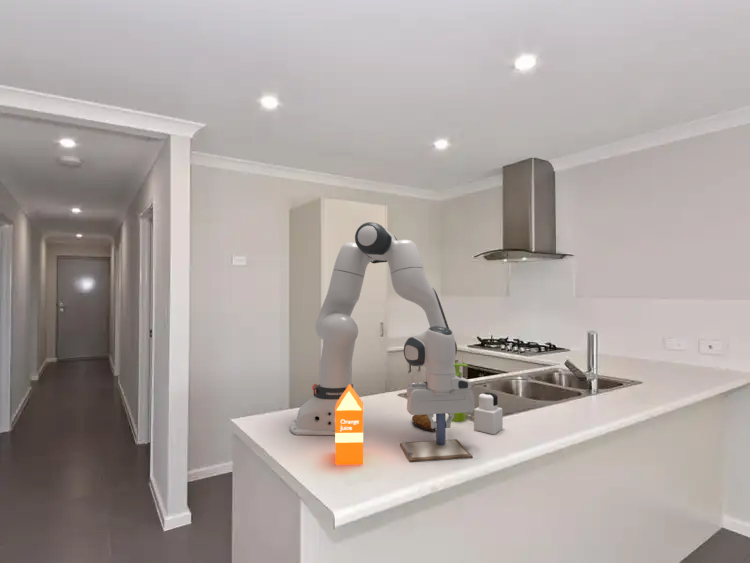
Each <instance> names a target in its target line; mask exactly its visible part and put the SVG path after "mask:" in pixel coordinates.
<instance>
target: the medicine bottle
mask: <svg viewBox="0 0 750 563" xmlns="http://www.w3.org/2000/svg"><path fill="white" fill-rule="evenodd" d="M498 403H499V400H498V395H497V394H495V393H494V392H482V393H479V395H478V406H477V407H476V408H474V410H473V431H476V432H481V433H486V434H488V435H489V434H490V435H495V434H497V433H498V432H500V431H502V430H503V427H504V426H503V423H504V422H503V408H502V407H498V405H499V404H498Z"/></svg>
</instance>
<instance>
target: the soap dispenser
mask: <svg viewBox="0 0 750 563" xmlns="http://www.w3.org/2000/svg"><path fill="white" fill-rule="evenodd" d="M454 367H455V371H456V376H460V377H463V373H462V372H460V367H464V368H465V367H466V368H468V367H469V364H466V363H458V362H457V363H454ZM466 413H467V412H465V413H454V418H453V420H452V421H451V422H454V423H462V422H465V421H466Z"/></svg>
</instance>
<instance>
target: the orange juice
mask: <svg viewBox="0 0 750 563" xmlns="http://www.w3.org/2000/svg"><path fill="white" fill-rule="evenodd" d="M334 436H335V437H334V439H335V440H334V442H335V445H334V446H335V447H334V448H335V453H334V454H335V457H334V458H335V462H334V463H335V465H336V466H340V465H341V466H345V465H347V466H349V465H353V466H355V465H364V402H363V400H362V399H361V398H360V396H359V395H358V393H357V392H356V390H355V389H354V387H353V388H352V386H351V385H350V384H349V385H348V387H347V388H346V390H345V391H344V393H343V394H342V396H341V397H340V399H339V400H338V401H337V403H336V408H335V435H334Z"/></svg>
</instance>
